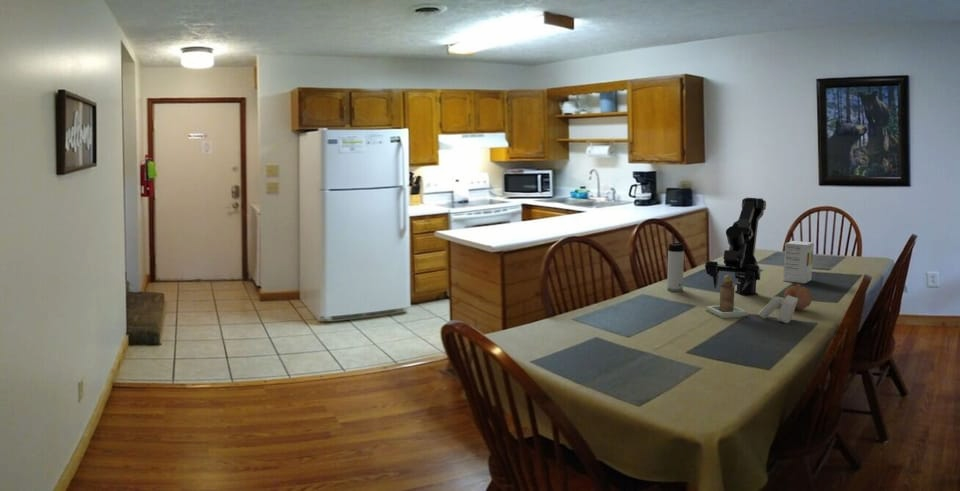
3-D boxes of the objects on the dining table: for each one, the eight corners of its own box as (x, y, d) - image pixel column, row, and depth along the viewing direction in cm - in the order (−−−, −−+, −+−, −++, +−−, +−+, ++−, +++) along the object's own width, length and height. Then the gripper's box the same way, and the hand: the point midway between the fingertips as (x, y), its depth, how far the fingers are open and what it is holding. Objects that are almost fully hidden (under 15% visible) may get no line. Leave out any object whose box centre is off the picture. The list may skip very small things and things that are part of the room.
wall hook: (760, 313, 246) (768, 287, 243) (789, 323, 241) (798, 297, 238) (754, 318, 240) (763, 292, 237) (785, 329, 235) (794, 302, 232)
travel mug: (684, 291, 283) (685, 244, 279) (667, 291, 284) (669, 243, 281) (682, 288, 289) (684, 241, 285) (666, 288, 290) (668, 241, 287)
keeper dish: (730, 309, 255) (730, 304, 254) (746, 316, 245) (746, 311, 245) (706, 311, 252) (706, 306, 252) (721, 318, 243) (721, 313, 242)
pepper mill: (725, 309, 252) (726, 273, 250) (736, 312, 248) (738, 275, 246) (716, 311, 249) (718, 274, 247) (727, 314, 245) (729, 276, 243)
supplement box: (804, 283, 294) (807, 245, 291) (782, 281, 300) (784, 243, 297) (811, 280, 301) (814, 242, 298) (789, 277, 307) (792, 240, 304)
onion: (787, 305, 258) (788, 279, 256) (814, 309, 252) (815, 282, 251) (779, 311, 251) (781, 284, 249) (807, 315, 245) (808, 287, 243)
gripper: (707, 239, 255) (698, 274, 247) (760, 243, 245) (752, 279, 238) (711, 256, 263) (703, 290, 255) (763, 260, 253) (756, 296, 246)
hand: (728, 289), depth 248 cm, fingers open, 9 cm apart
